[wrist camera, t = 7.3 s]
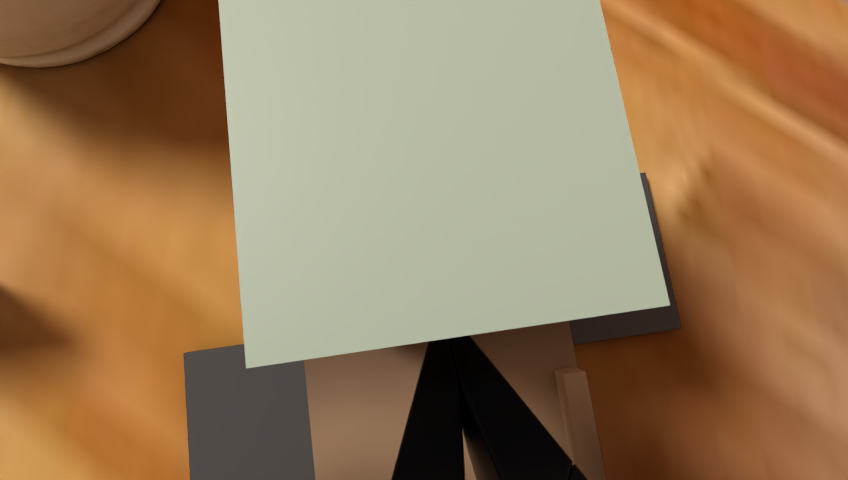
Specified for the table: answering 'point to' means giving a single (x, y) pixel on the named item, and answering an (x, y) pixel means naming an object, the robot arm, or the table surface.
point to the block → (428, 172)
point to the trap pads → (288, 403)
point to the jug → (66, 29)
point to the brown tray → (394, 389)
